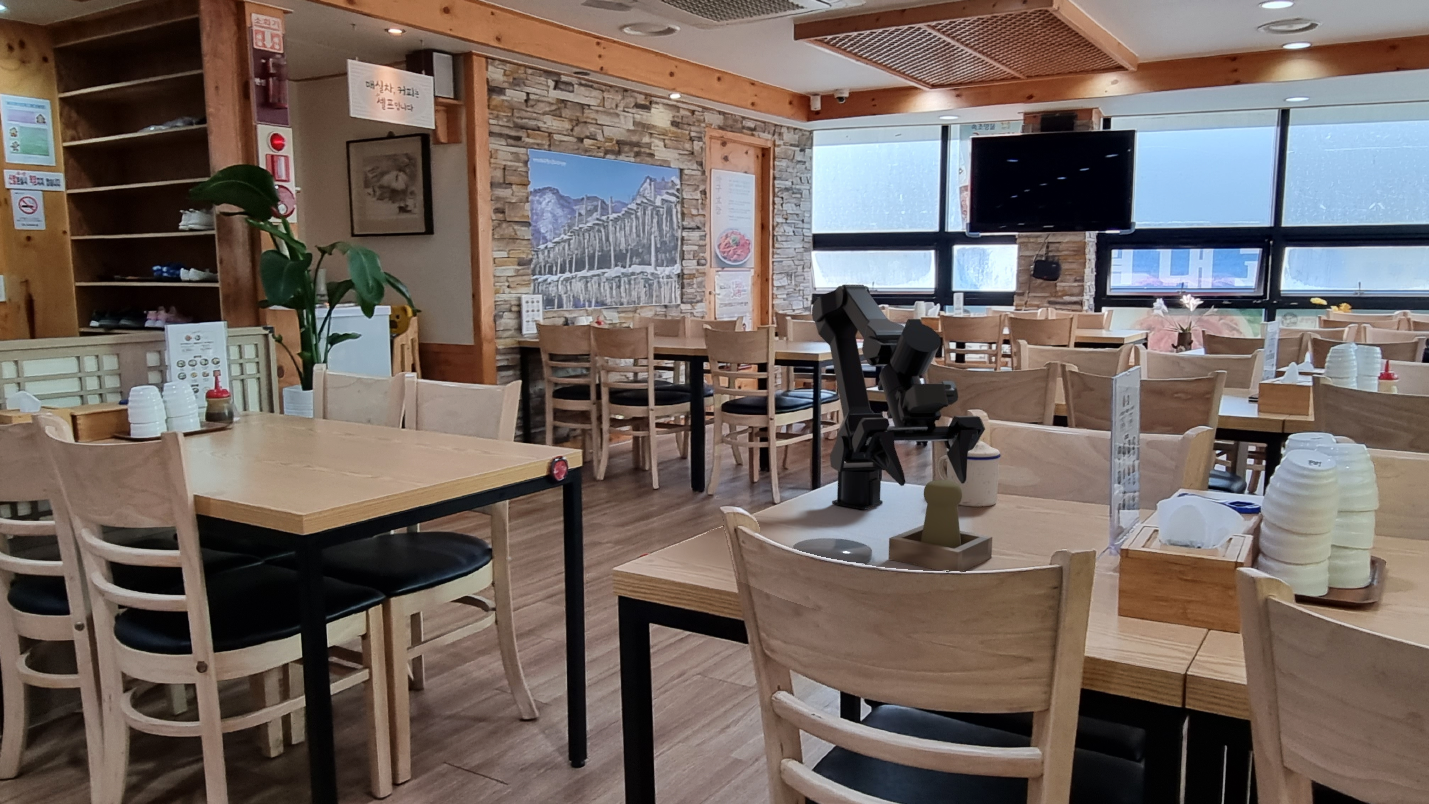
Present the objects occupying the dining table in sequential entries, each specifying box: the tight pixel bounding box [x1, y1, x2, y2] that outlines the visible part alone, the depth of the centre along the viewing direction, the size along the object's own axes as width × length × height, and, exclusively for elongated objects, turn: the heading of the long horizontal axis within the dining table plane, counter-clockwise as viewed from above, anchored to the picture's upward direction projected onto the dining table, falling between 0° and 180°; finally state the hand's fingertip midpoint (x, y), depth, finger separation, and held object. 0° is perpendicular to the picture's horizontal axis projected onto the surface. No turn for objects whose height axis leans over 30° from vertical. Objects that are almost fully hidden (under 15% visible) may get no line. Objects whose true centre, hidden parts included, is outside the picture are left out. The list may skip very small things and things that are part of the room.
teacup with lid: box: [937, 437, 1002, 508], centre depth 176 cm, size 12×9×12 cm
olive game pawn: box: [921, 479, 962, 549], centre depth 140 cm, size 6×6×11 cm
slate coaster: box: [792, 537, 873, 564], centre depth 141 cm, size 11×11×1 cm
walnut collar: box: [888, 524, 993, 572], centre depth 140 cm, size 10×10×3 cm
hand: (933, 483), depth 142 cm, fingers open, 9 cm apart
